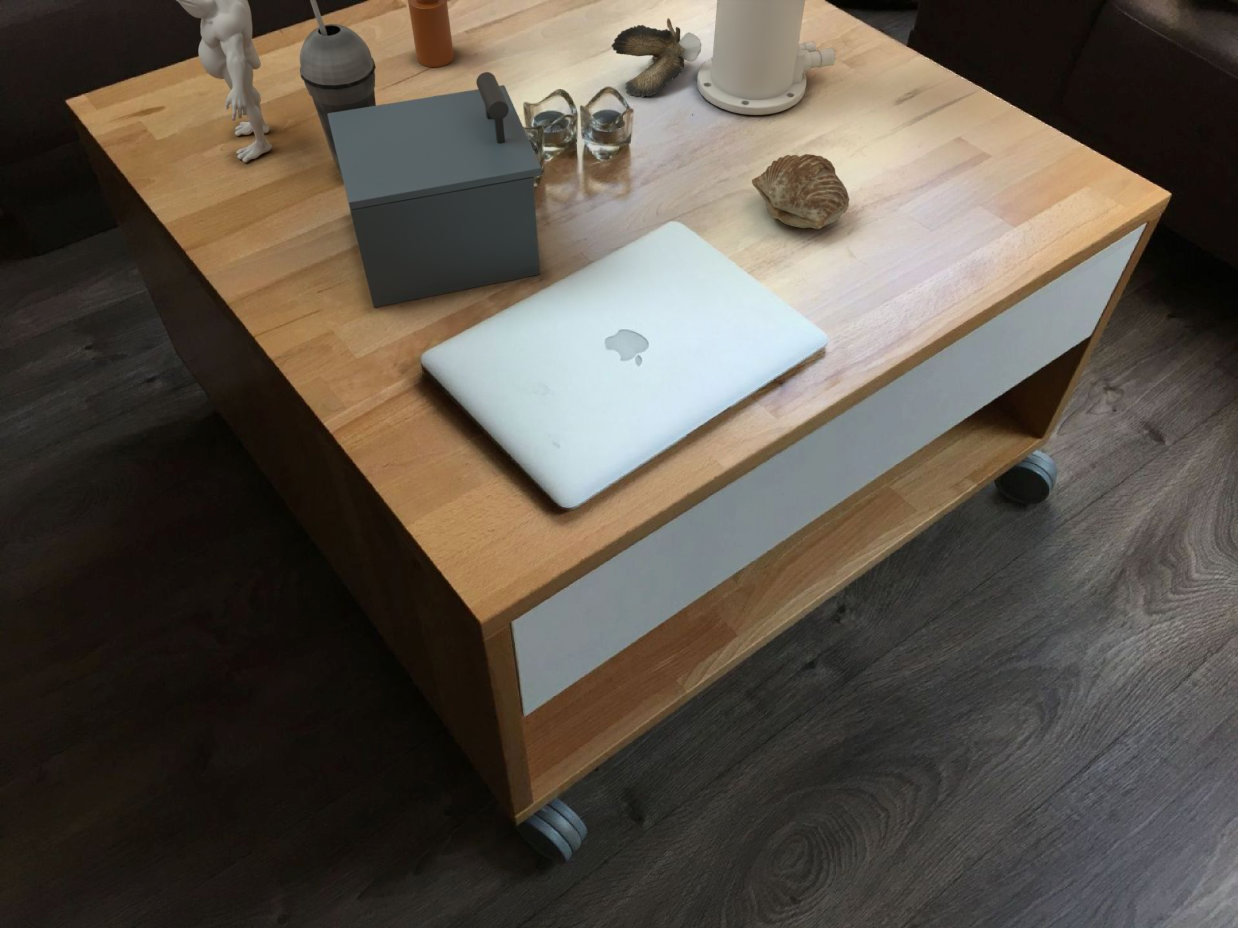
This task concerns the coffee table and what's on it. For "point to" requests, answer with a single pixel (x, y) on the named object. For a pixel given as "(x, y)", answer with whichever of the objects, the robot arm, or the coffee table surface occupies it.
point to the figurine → (232, 63)
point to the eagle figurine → (656, 55)
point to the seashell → (803, 191)
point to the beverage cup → (336, 72)
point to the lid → (431, 145)
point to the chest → (448, 241)
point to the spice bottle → (431, 32)
